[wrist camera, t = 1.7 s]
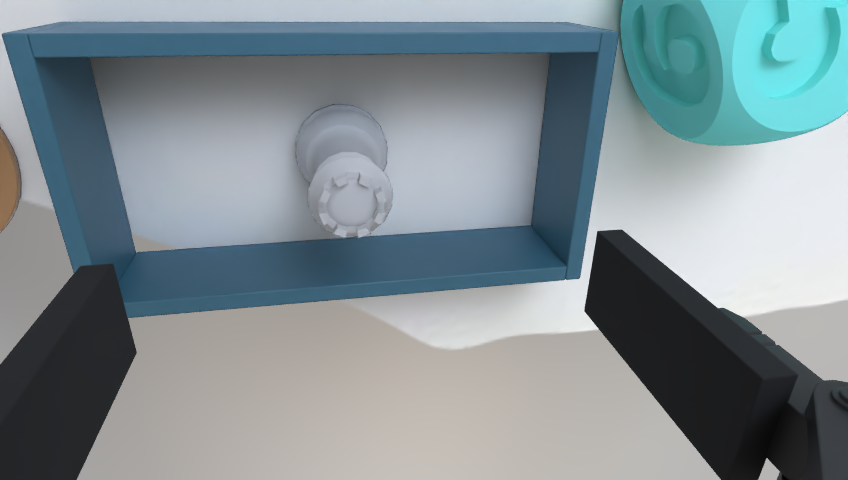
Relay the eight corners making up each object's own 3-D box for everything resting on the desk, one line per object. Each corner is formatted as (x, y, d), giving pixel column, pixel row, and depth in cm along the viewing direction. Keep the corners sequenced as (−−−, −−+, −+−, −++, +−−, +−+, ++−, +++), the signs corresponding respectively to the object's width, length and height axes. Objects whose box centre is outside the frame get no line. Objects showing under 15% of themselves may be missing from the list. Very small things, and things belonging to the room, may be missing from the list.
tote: (122, 266, 28) (87, 322, 23) (60, 21, 23) (0, 33, 18) (542, 236, 32) (580, 279, 27) (568, 22, 27) (620, 31, 22)
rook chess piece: (351, 205, 29) (366, 280, 22) (277, 157, 27) (266, 223, 20) (403, 136, 28) (436, 192, 21) (329, 82, 26) (337, 123, 19)
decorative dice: (767, 65, 30) (910, 94, 23) (631, 119, 30) (732, 165, 23) (762, -99, 26) (932, -125, 19) (607, -37, 26) (719, -41, 19)
